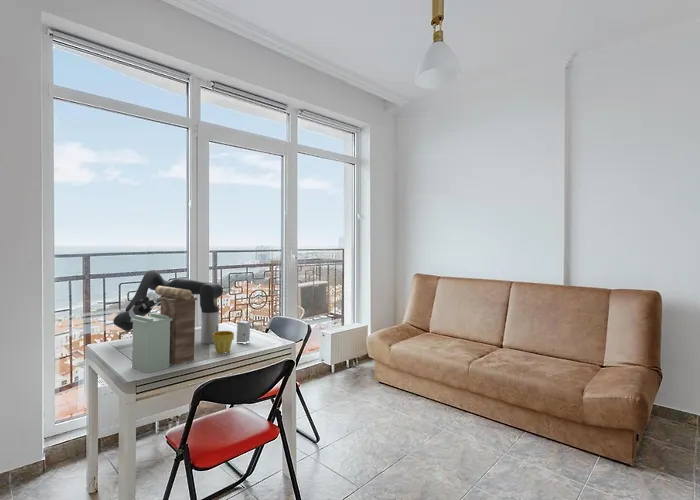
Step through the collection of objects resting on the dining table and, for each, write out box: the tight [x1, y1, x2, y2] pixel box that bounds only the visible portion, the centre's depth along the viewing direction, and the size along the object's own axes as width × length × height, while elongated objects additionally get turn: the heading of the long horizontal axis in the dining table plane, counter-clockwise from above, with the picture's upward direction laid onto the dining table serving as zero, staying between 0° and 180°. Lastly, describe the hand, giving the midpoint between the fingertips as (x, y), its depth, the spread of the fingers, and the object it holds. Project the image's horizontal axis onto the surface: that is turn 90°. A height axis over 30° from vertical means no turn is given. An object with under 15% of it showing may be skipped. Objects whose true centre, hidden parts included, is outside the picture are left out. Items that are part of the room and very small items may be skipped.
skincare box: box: [236, 320, 251, 342], centre depth 215 cm, size 6×4×12 cm
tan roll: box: [154, 286, 192, 299], centre depth 183 cm, size 22×4×4 cm, turn 59°
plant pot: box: [213, 330, 235, 354], centre depth 198 cm, size 10×10×10 cm
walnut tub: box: [158, 294, 198, 366], centre depth 182 cm, size 12×12×31 cm
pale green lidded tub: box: [131, 312, 172, 374], centre depth 171 cm, size 12×12×23 cm
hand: (156, 297), depth 191 cm, fingers open, 8 cm apart
